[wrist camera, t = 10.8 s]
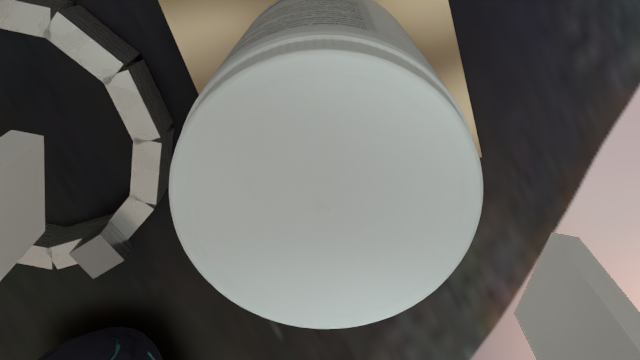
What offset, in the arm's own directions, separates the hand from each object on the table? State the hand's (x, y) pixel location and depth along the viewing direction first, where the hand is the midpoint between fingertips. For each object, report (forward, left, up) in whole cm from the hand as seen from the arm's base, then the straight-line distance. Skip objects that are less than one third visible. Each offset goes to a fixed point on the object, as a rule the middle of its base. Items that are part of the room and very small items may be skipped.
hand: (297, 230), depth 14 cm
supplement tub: (0, 0, -17) cm, 17 cm away
